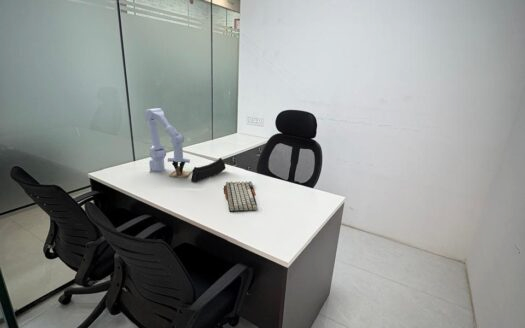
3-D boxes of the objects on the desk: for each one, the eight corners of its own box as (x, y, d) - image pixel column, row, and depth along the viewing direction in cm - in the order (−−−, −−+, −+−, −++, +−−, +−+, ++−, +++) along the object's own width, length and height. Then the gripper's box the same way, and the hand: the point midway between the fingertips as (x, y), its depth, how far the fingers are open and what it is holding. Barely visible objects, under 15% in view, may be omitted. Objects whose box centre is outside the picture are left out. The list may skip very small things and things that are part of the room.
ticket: (174, 172, 184) (173, 170, 184) (178, 168, 193) (178, 166, 192) (190, 173, 184) (190, 171, 184) (194, 169, 193) (194, 167, 192)
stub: (169, 176, 176) (168, 168, 174) (173, 172, 184) (173, 164, 182) (186, 177, 176) (186, 169, 174) (190, 173, 183) (190, 165, 181)
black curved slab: (190, 172, 163) (221, 149, 184) (187, 170, 165) (218, 148, 185) (197, 193, 173) (226, 169, 193) (194, 192, 174) (223, 168, 194)
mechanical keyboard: (263, 211, 139) (263, 206, 138) (227, 214, 135) (227, 208, 134) (251, 184, 174) (251, 179, 173) (222, 185, 170) (222, 181, 169)
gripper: (165, 153, 170) (166, 173, 174) (187, 155, 170) (188, 174, 174) (169, 151, 177) (170, 169, 181) (190, 152, 176) (191, 171, 181)
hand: (179, 172), depth 178 cm, fingers closed on stub, 2 cm apart
